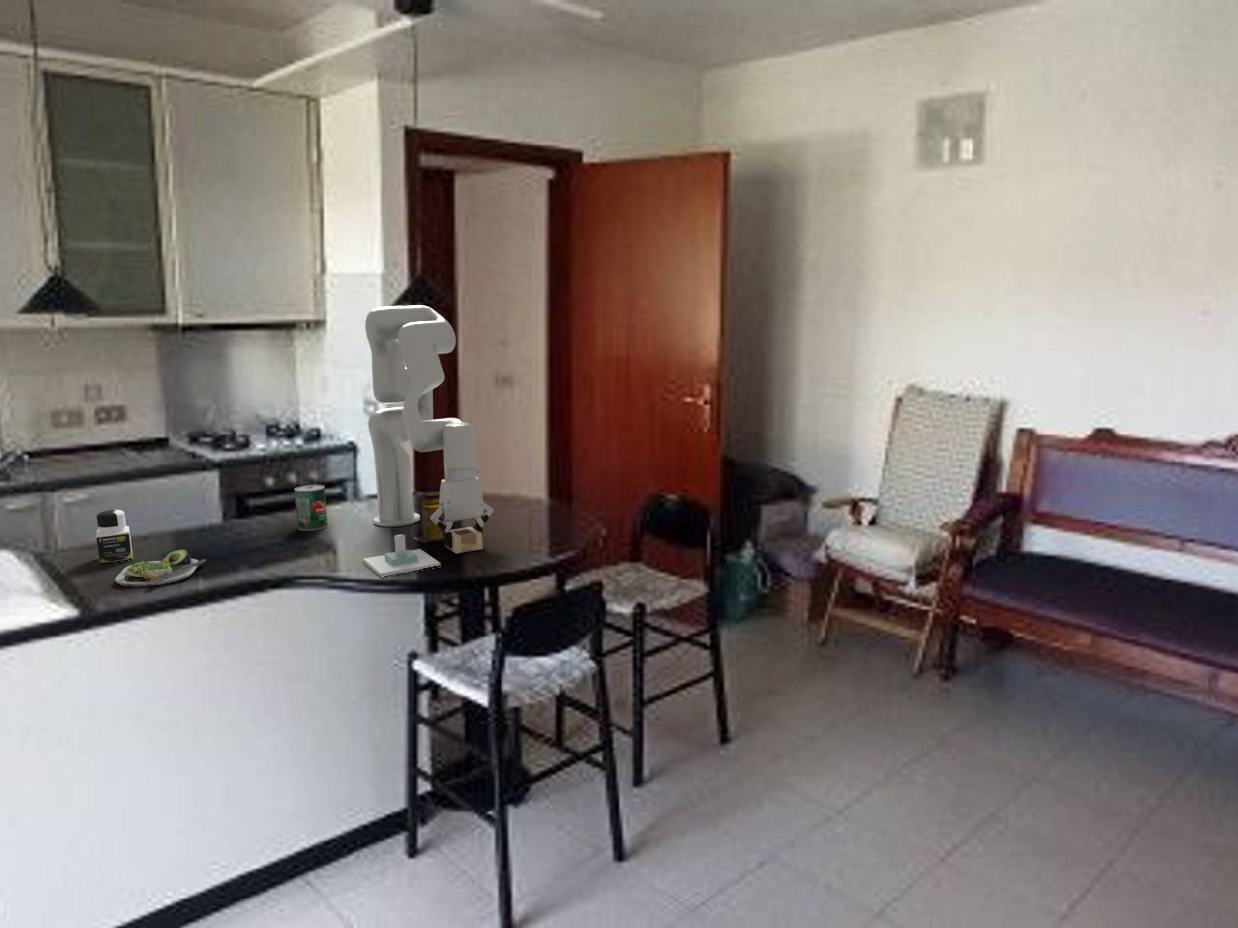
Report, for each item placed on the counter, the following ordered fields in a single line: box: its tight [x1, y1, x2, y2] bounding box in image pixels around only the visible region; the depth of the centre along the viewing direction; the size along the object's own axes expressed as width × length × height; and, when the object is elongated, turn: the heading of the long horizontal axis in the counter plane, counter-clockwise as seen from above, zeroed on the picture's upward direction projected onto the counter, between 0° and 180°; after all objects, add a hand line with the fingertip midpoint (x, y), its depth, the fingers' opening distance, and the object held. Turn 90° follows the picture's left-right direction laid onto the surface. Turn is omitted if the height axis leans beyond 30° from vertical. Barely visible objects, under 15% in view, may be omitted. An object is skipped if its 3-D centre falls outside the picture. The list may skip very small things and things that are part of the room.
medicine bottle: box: [95, 509, 133, 562], centre depth 229 cm, size 7×7×12 cm
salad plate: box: [114, 548, 207, 588], centre depth 215 cm, size 19×18×5 cm
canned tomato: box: [293, 484, 329, 532], centre depth 256 cm, size 8×8×11 cm
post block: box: [362, 534, 441, 577], centre depth 219 cm, size 14×14×7 cm
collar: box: [444, 526, 484, 554], centre depth 231 cm, size 7×7×4 cm
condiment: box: [421, 490, 445, 540], centre depth 241 cm, size 7×8×12 cm
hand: (463, 543), depth 231 cm, fingers closed on collar, 7 cm apart
